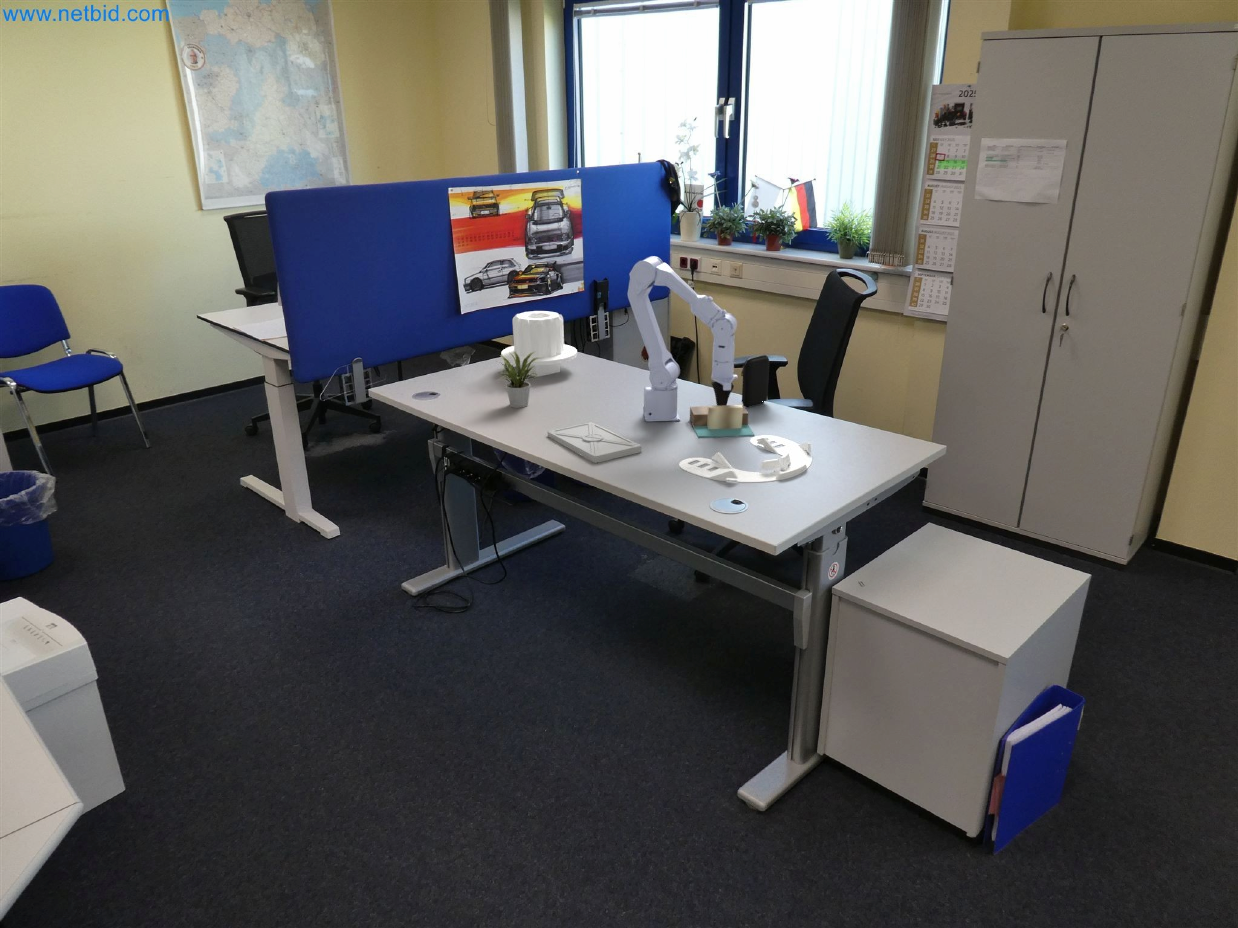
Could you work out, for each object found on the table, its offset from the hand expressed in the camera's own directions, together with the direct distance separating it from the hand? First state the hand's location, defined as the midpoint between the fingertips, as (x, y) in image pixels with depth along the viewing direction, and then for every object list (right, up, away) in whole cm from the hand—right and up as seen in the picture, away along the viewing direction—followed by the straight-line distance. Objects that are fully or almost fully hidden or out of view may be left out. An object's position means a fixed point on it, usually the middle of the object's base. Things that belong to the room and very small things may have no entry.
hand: (721, 408), depth 235 cm
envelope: (-35, -11, -13) cm, 39 cm away
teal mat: (0, -7, -5) cm, 8 cm away
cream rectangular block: (0, -2, -4) cm, 4 cm away
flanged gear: (-55, +15, +52) cm, 77 cm away
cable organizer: (+6, -15, -25) cm, 30 cm away
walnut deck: (-1, -4, +2) cm, 4 cm away
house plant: (-56, +2, +18) cm, 59 cm away
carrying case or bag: (+11, +1, +16) cm, 19 cm away
